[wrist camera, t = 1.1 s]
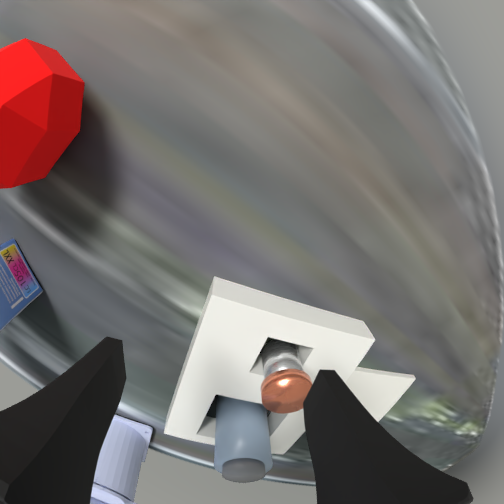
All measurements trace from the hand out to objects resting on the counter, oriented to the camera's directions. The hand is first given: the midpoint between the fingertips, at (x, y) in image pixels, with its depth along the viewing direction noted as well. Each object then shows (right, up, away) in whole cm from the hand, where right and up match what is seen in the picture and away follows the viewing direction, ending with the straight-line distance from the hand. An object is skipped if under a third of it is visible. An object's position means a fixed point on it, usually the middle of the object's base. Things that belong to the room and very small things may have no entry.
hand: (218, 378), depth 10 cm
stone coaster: (+12, -11, +15) cm, 22 cm away
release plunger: (+3, -3, +10) cm, 11 cm away
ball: (-13, +14, +5) cm, 20 cm away
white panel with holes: (+1, -6, +13) cm, 15 cm away
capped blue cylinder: (0, -9, +14) cm, 17 cm away
